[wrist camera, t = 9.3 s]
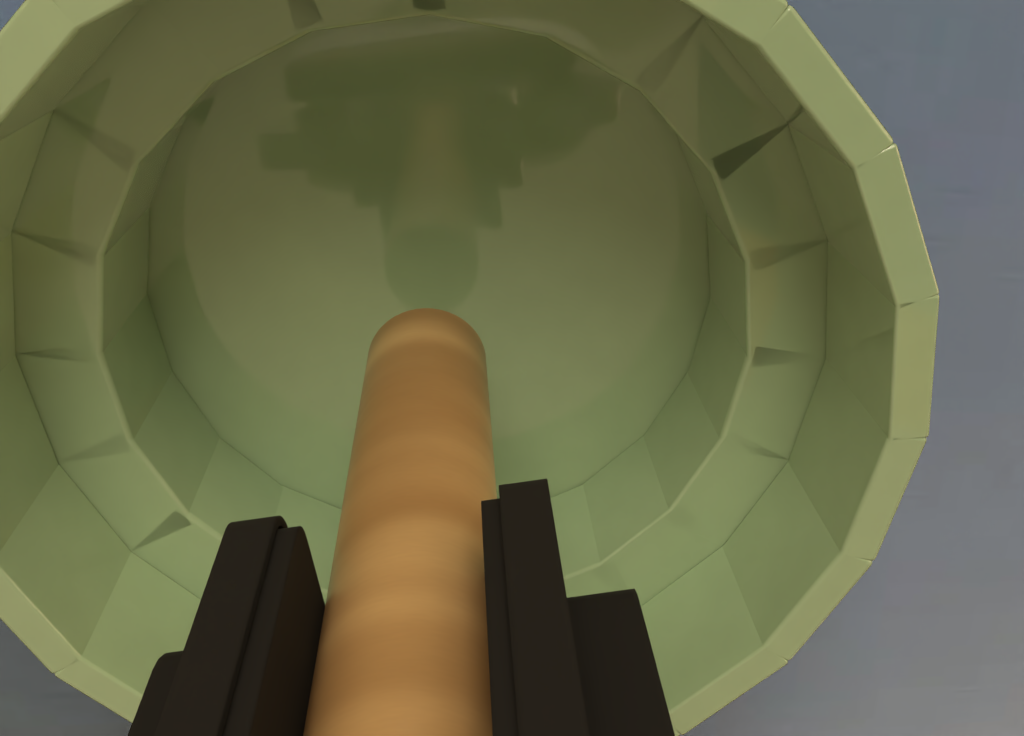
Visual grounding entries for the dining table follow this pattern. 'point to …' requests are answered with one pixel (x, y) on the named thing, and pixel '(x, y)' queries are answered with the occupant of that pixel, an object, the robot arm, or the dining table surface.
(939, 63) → the dining table surface
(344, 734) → the stick
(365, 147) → the bowl
